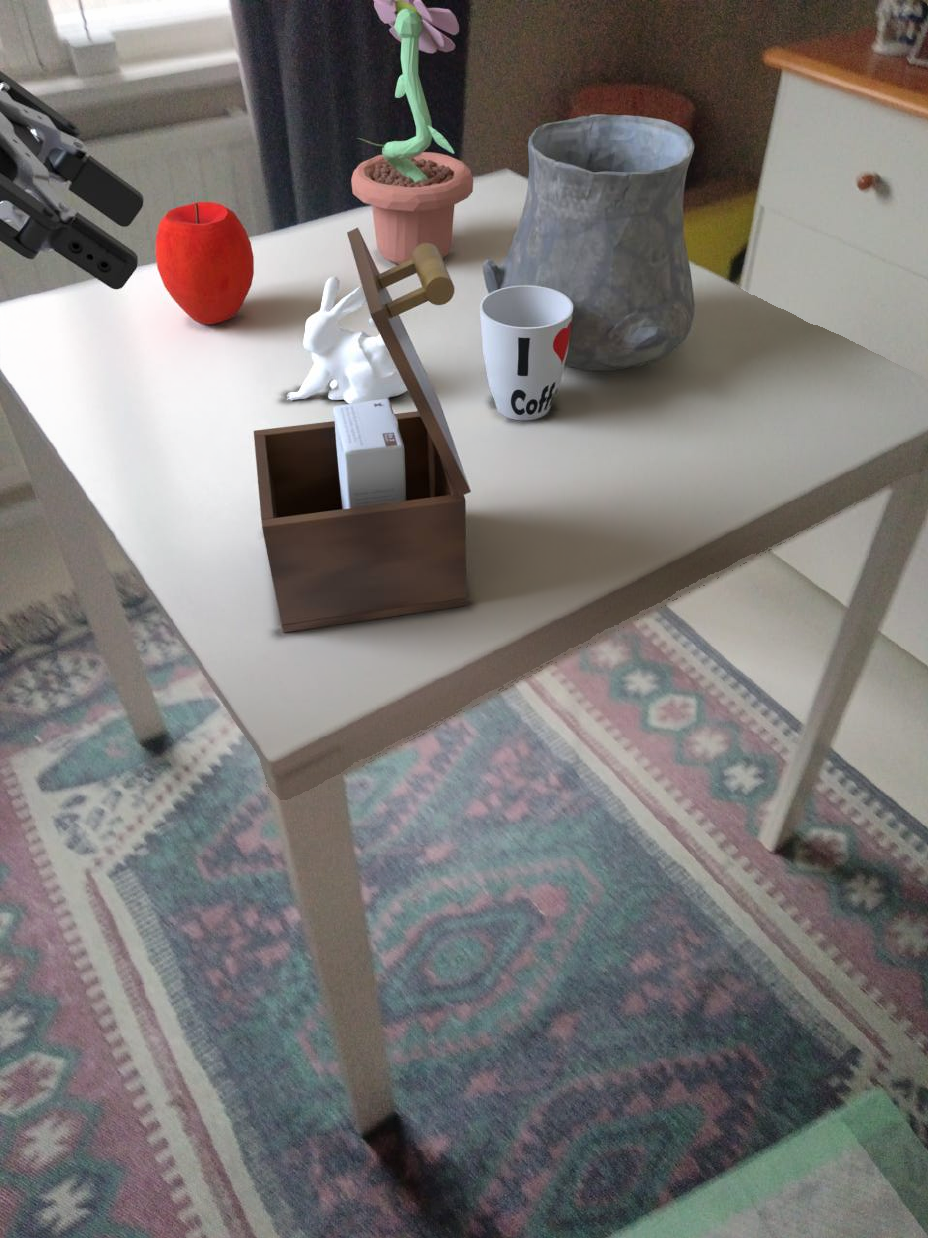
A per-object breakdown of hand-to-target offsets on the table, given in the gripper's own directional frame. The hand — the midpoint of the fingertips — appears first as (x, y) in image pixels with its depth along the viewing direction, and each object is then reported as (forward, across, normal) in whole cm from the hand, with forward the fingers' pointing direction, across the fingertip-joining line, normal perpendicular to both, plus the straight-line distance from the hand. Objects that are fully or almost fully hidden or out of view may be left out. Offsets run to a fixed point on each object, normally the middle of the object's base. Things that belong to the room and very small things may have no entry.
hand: (133, 242), depth 56 cm
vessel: (+46, +29, -8) cm, 55 cm away
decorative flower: (+36, +55, +2) cm, 66 cm away
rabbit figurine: (+29, +27, +9) cm, 40 cm away
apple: (+20, +44, +18) cm, 52 cm away
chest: (+27, 0, +11) cm, 29 cm away
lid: (+18, 0, -4) cm, 18 cm away
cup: (+39, +20, -1) cm, 44 cm away
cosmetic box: (+27, 0, +10) cm, 29 cm away
